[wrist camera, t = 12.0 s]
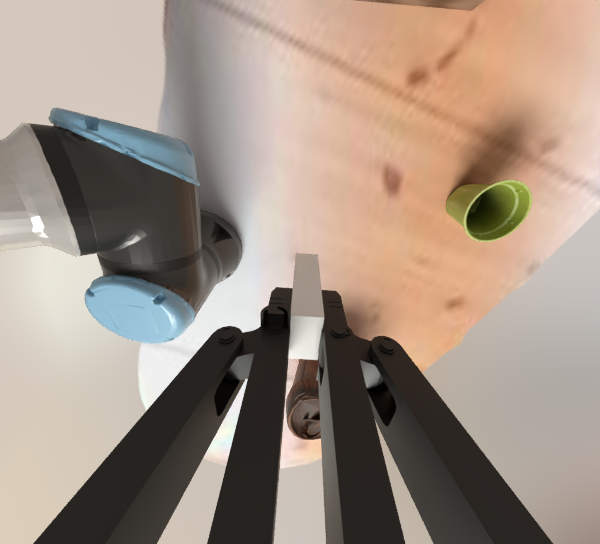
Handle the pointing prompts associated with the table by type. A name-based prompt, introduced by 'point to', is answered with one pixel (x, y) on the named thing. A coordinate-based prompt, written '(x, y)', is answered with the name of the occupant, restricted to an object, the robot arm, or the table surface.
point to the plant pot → (490, 208)
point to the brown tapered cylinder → (304, 402)
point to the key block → (436, 3)
